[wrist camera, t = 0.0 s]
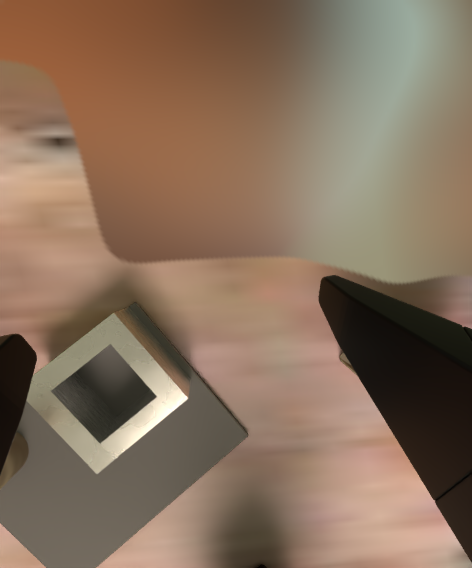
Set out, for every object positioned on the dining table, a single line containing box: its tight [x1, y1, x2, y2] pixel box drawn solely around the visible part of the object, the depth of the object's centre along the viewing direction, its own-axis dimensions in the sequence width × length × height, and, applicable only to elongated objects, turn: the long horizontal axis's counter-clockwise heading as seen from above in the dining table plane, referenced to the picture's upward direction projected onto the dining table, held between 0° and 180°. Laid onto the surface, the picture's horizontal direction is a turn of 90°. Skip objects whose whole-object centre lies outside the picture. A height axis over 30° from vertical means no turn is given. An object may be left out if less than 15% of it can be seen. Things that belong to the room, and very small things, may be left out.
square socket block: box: [27, 307, 191, 474], centre depth 20 cm, size 8×8×4 cm
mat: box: [0, 302, 248, 568], centre depth 22 cm, size 16×20×1 cm
